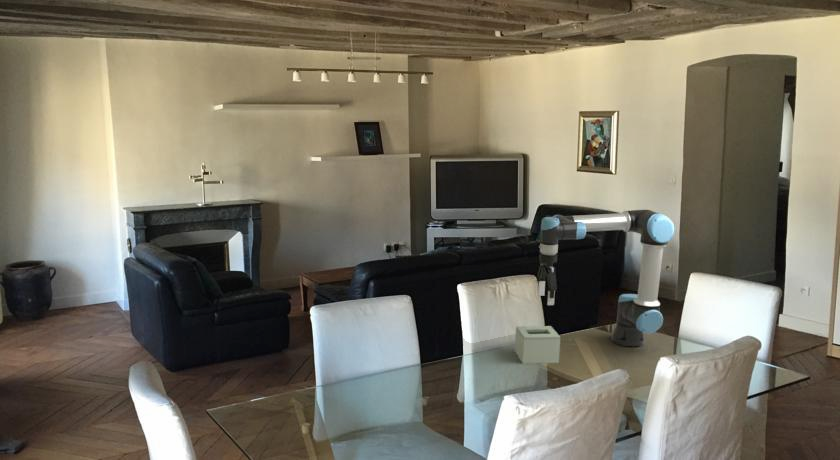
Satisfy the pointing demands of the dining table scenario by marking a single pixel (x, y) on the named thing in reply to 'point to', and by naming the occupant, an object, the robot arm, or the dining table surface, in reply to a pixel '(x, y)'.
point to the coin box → (537, 344)
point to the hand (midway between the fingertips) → (545, 300)
